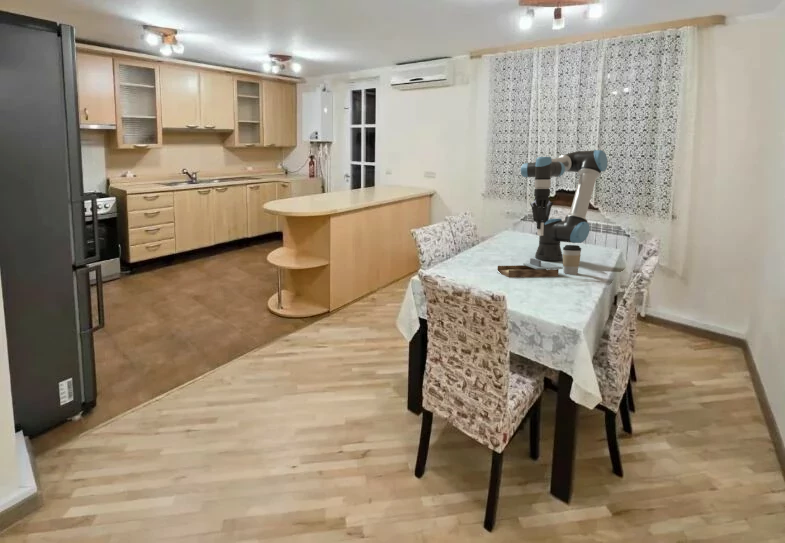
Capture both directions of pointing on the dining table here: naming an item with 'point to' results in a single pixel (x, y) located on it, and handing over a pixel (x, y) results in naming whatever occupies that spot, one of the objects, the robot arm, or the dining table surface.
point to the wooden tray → (526, 271)
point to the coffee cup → (571, 259)
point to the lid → (541, 265)
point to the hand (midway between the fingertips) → (540, 235)
